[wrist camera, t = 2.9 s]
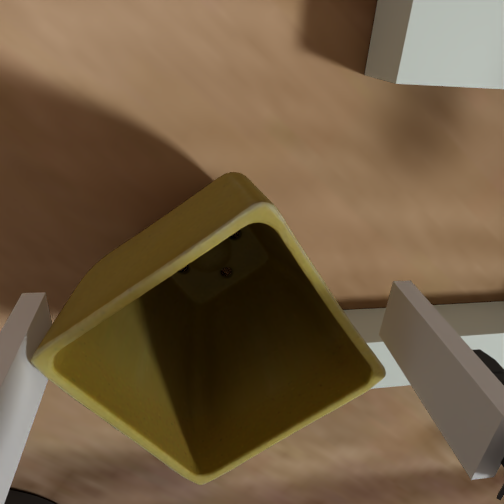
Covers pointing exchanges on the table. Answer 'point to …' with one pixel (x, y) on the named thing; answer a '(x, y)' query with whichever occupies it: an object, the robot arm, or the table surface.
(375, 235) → the table surface
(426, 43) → the l-shaped hook stand
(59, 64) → the table surface
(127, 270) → the flower pot
